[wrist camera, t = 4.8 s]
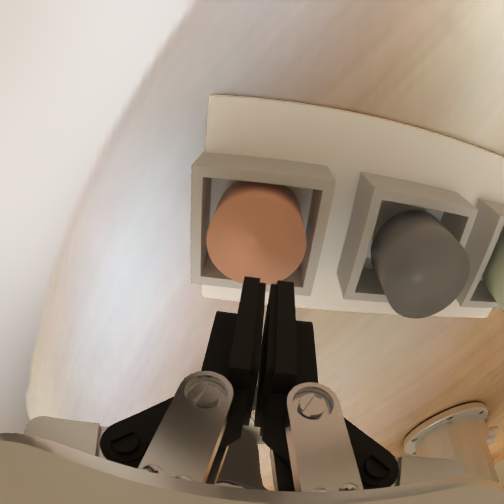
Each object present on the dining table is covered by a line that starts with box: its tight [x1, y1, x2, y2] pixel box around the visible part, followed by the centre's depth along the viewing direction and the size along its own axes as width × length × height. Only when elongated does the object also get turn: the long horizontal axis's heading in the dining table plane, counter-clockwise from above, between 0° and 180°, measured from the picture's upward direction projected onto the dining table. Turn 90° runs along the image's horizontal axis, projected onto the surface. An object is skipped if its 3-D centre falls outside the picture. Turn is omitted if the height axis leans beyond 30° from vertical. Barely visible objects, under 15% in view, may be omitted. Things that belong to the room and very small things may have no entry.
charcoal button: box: [371, 210, 470, 318], centre depth 14 cm, size 4×4×3 cm
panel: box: [191, 94, 504, 318], centre depth 17 cm, size 22×12×4 cm, turn 85°
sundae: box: [216, 388, 269, 491], centre depth 22 cm, size 7×7×15 cm
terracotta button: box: [206, 180, 306, 285], centre depth 15 cm, size 4×4×3 cm
